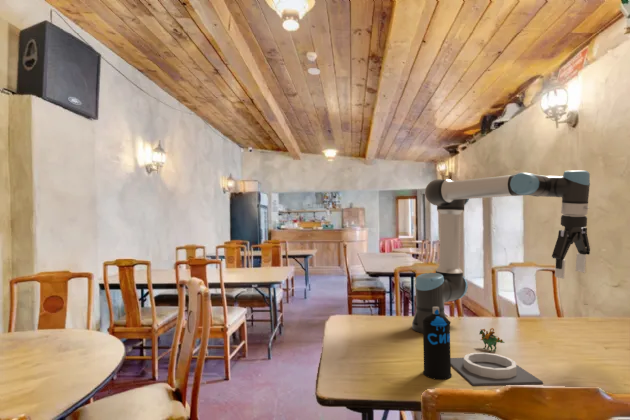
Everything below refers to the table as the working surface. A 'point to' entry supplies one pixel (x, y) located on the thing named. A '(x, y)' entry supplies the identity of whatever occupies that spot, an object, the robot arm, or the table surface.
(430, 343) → the aerosol can
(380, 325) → the table surface
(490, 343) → the figurine
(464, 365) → the can holder
